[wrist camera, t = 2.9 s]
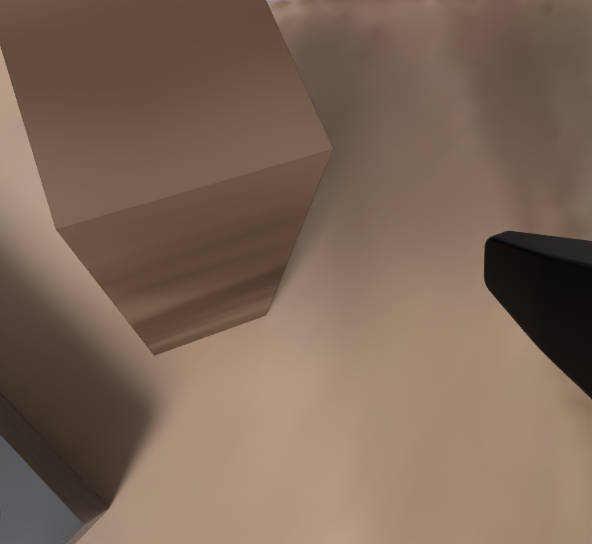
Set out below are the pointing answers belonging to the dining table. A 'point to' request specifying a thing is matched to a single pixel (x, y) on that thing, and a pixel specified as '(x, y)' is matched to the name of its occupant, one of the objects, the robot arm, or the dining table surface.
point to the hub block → (39, 488)
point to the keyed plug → (168, 151)
